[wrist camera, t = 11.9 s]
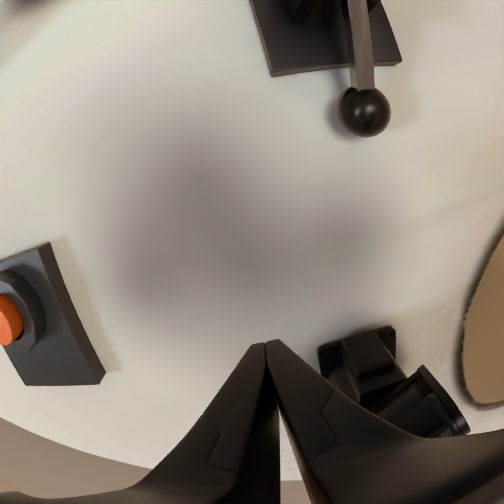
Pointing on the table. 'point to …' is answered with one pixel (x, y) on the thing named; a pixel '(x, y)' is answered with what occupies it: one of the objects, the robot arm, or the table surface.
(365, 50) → the lever
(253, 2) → the bracket
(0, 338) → the button
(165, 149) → the table surface
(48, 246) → the button block
